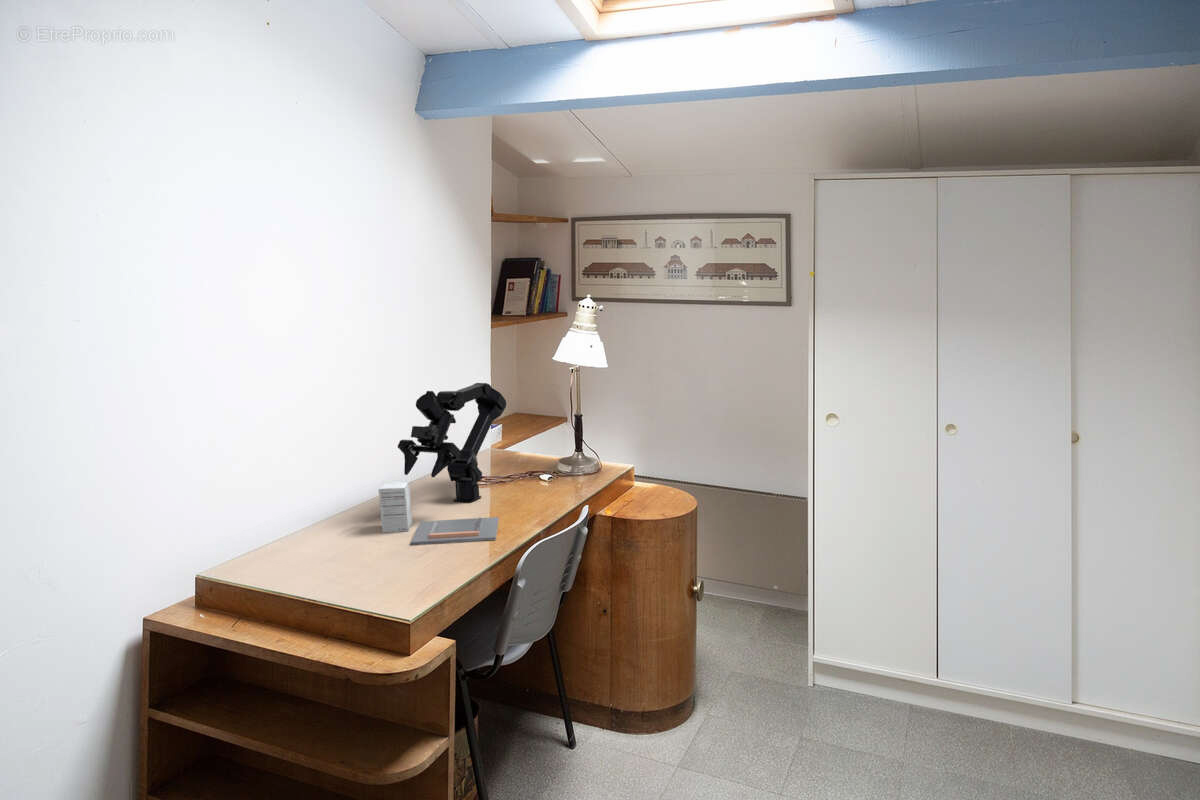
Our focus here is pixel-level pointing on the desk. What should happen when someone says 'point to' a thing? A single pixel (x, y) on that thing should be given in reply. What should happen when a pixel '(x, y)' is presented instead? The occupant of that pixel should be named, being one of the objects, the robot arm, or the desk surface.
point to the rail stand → (456, 530)
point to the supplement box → (395, 506)
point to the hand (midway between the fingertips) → (418, 475)
